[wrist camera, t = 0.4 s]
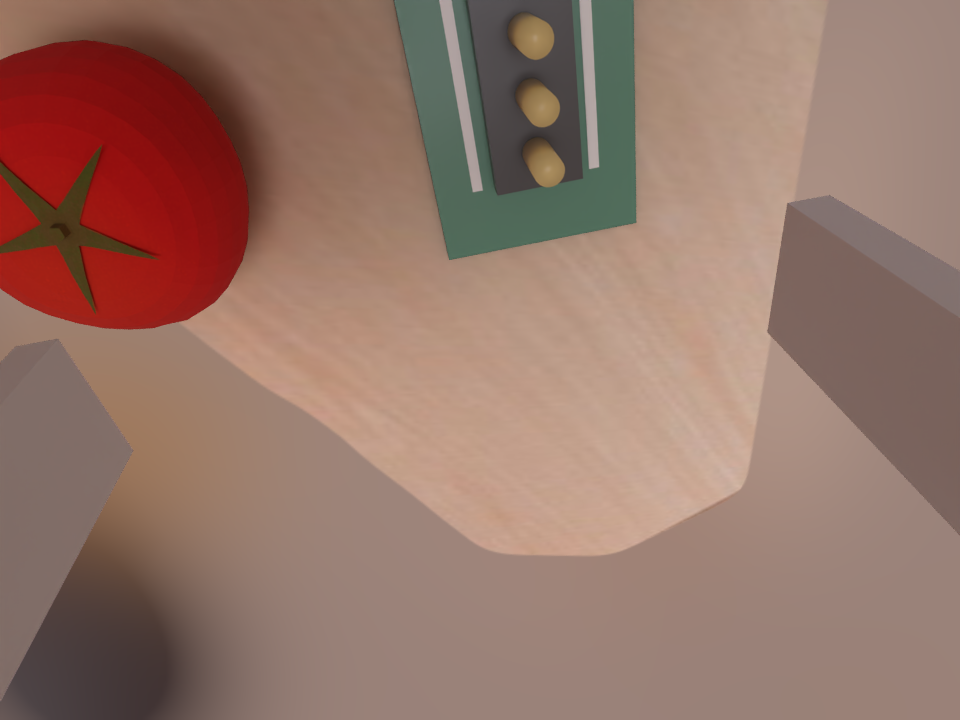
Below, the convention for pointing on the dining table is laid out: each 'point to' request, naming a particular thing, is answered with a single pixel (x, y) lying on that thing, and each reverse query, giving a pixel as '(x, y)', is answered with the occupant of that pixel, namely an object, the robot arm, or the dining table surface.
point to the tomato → (114, 188)
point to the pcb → (524, 116)
